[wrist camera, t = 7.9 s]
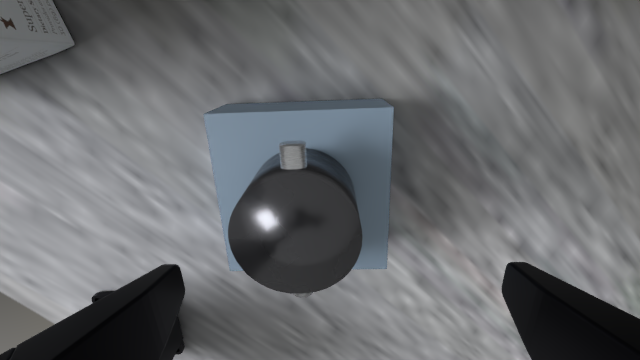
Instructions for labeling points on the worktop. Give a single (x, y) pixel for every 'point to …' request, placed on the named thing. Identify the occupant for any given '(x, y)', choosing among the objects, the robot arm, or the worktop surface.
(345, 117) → the block
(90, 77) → the worktop surface
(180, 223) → the worktop surface
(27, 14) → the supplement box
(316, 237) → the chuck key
